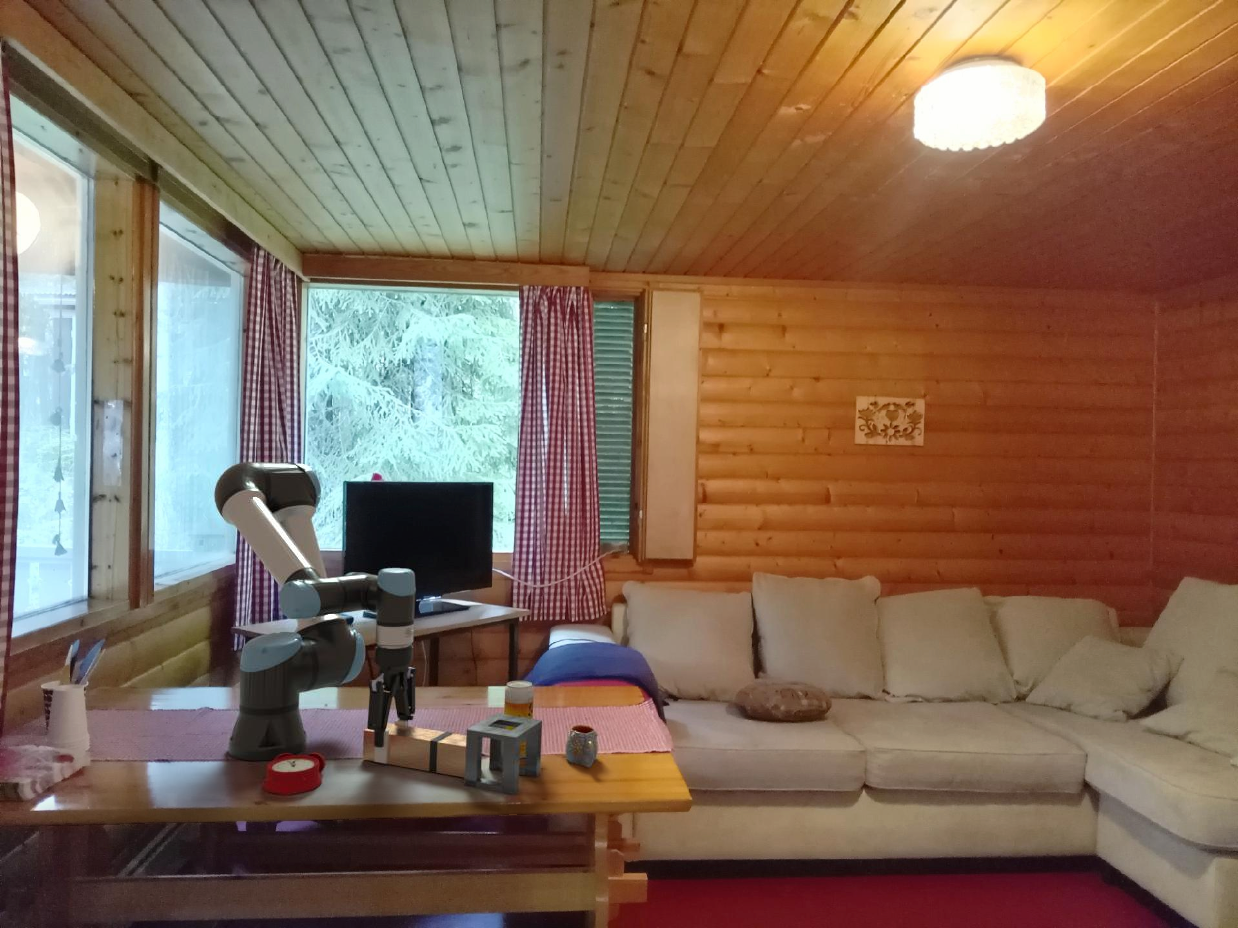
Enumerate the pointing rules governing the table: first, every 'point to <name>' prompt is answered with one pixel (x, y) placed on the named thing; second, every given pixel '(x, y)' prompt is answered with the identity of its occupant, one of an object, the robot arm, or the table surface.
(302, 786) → the alarm clock
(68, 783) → the table surface
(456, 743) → the banded wooden beam
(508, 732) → the collar block
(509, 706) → the yellow can
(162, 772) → the table surface
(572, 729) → the mug
